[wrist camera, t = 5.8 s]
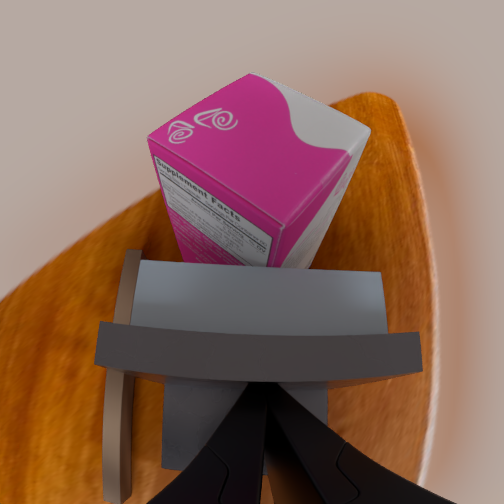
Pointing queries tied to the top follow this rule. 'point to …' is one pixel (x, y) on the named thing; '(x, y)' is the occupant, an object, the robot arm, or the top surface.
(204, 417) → the bookend
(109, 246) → the top surface
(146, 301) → the book
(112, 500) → the rail
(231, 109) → the supplement box
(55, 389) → the top surface
